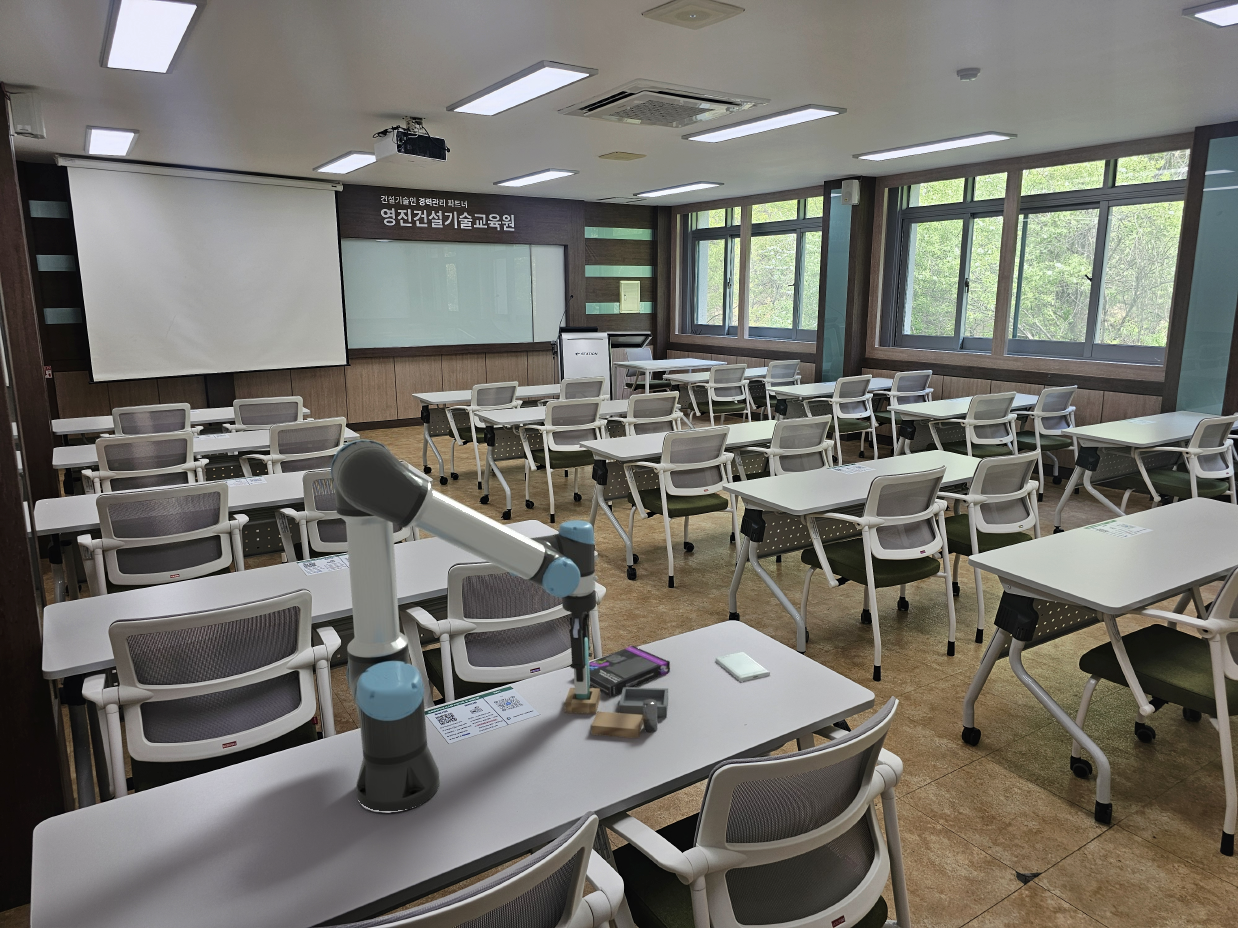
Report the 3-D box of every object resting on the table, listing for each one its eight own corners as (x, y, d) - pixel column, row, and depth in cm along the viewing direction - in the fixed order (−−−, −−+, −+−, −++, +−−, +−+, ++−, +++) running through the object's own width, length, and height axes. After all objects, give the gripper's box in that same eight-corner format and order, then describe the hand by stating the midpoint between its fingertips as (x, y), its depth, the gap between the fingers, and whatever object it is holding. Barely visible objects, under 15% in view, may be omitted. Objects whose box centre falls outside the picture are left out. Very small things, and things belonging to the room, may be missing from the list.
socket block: (565, 712, 175) (564, 702, 175) (570, 697, 182) (570, 687, 182) (596, 713, 175) (595, 703, 174) (600, 698, 181) (599, 688, 181)
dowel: (575, 708, 177) (572, 642, 174) (577, 701, 180) (574, 636, 177) (589, 708, 177) (586, 642, 174) (591, 701, 180) (588, 636, 177)
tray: (619, 715, 173) (619, 705, 173) (623, 697, 182) (623, 687, 181) (666, 717, 172) (666, 706, 172) (668, 698, 180) (668, 688, 180)
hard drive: (715, 657, 199) (740, 677, 188) (743, 651, 202) (770, 670, 191) (715, 663, 199) (740, 683, 188) (743, 657, 202) (770, 677, 191)
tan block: (591, 736, 166) (591, 725, 166) (597, 721, 172) (597, 711, 172) (638, 739, 164) (637, 729, 164) (642, 725, 170) (642, 714, 170)
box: (633, 657, 205) (573, 679, 192) (633, 644, 204) (573, 665, 192) (670, 674, 194) (609, 698, 182) (670, 661, 193) (609, 684, 181)
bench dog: (642, 731, 167) (642, 705, 165) (644, 724, 170) (643, 698, 168) (657, 732, 166) (656, 706, 165) (657, 724, 169) (657, 699, 168)
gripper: (590, 604, 165) (593, 707, 169) (600, 578, 181) (603, 673, 185) (555, 603, 166) (559, 706, 170) (568, 577, 181) (572, 672, 186)
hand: (582, 688), depth 178 cm, fingers closed on dowel, 3 cm apart
